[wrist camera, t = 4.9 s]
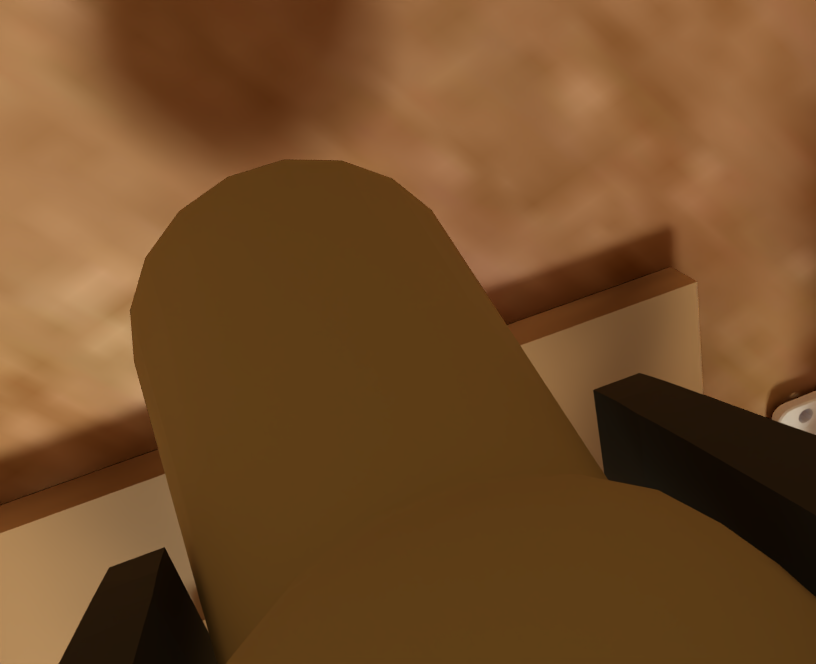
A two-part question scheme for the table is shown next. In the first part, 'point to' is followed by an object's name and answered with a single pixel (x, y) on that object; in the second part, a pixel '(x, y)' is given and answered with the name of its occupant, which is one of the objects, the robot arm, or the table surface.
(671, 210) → the table surface
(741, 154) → the table surface
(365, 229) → the cork
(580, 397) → the coaster board
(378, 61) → the table surface
